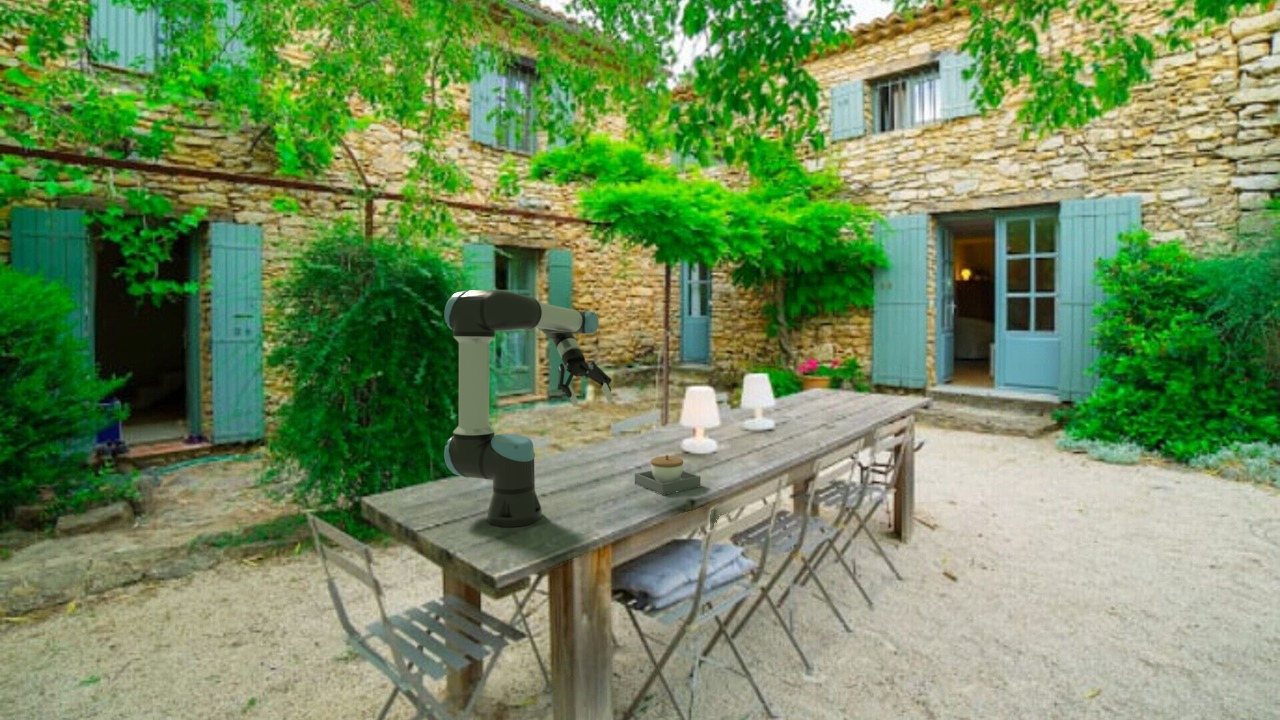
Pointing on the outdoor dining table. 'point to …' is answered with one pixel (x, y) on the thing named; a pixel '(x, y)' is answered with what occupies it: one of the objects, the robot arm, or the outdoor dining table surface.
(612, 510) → the outdoor dining table surface
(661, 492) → the bin
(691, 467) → the outdoor dining table surface
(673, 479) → the lidded jar
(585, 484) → the outdoor dining table surface
